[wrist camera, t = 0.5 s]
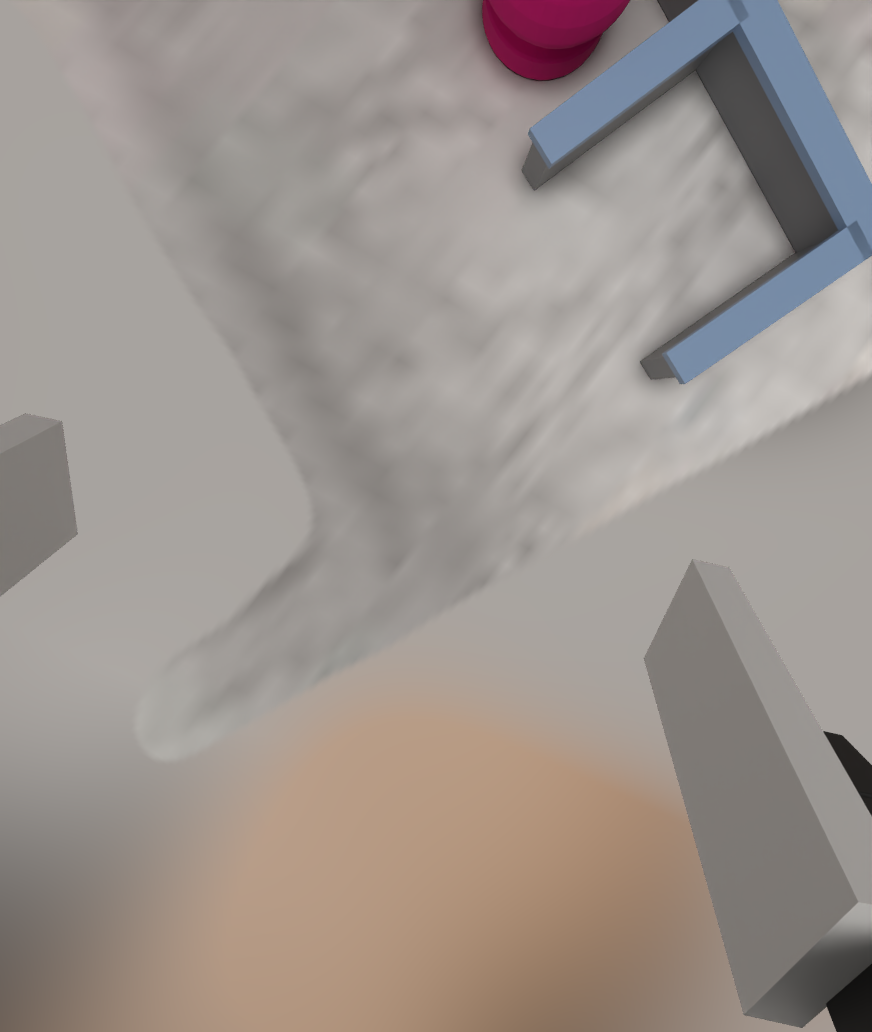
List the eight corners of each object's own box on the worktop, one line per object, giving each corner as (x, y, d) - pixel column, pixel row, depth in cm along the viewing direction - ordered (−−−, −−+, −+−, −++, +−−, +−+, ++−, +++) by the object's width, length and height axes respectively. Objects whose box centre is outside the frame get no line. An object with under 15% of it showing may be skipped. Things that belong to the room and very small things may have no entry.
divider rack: (384, -44, 29) (376, -125, 25) (582, -207, 28) (612, -322, 24) (650, 386, 34) (685, 383, 29) (833, 259, 32) (898, 236, 28)
